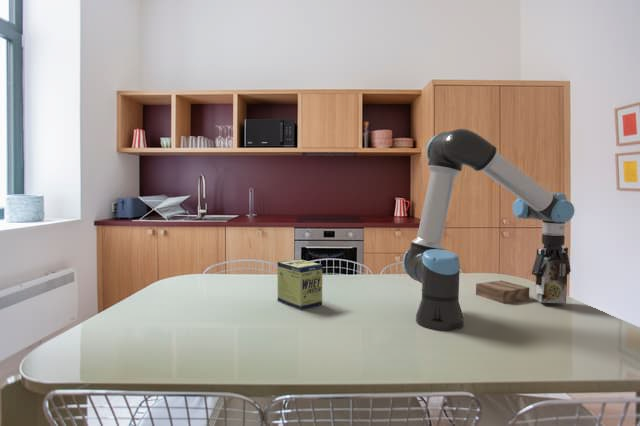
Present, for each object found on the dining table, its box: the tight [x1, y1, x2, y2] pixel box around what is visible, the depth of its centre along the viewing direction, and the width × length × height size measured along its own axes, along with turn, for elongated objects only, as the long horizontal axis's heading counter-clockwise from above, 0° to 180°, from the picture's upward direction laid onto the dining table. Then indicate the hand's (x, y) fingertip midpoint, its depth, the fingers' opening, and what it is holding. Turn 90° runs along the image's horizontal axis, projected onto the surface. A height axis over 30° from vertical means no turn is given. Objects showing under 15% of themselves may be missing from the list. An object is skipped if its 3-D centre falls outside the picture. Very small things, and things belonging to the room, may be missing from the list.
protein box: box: [277, 258, 323, 311], centre depth 166 cm, size 10×16×16 cm
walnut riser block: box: [475, 280, 530, 304], centre depth 175 cm, size 14×14×5 cm
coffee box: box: [534, 259, 568, 304], centre depth 164 cm, size 9×6×16 cm
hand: (550, 292), depth 165 cm, fingers closed on coffee box, 10 cm apart
